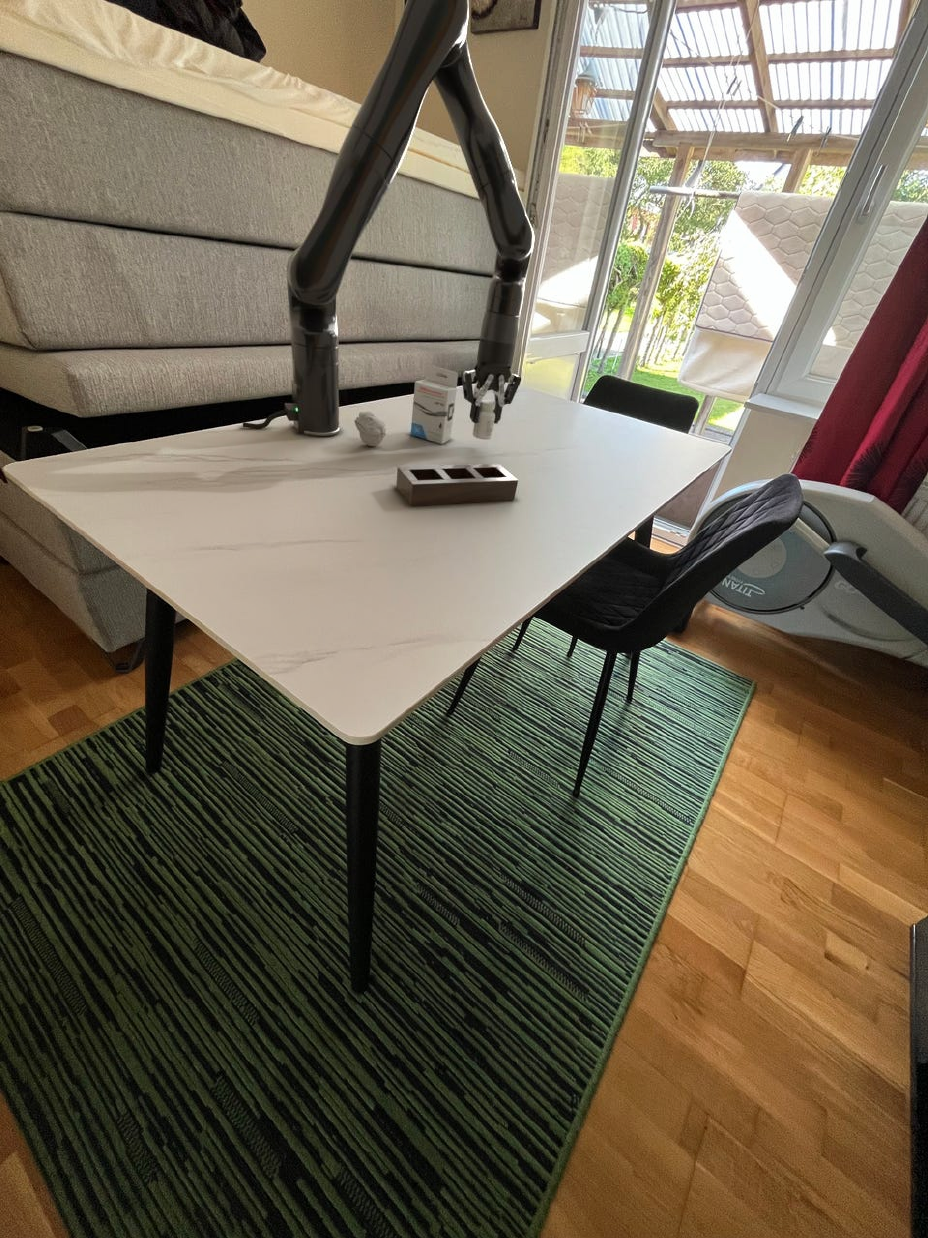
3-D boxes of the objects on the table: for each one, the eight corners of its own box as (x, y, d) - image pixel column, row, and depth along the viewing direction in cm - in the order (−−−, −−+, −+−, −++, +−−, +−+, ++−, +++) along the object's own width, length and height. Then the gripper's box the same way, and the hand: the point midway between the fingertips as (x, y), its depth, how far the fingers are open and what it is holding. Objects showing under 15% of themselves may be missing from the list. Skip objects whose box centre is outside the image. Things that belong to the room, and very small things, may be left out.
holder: (514, 500, 98) (518, 480, 95) (410, 506, 89) (412, 484, 87) (495, 483, 103) (498, 463, 101) (396, 487, 95) (397, 466, 92)
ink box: (409, 435, 120) (414, 366, 111) (419, 430, 124) (425, 363, 115) (442, 444, 118) (449, 375, 109) (451, 439, 121) (459, 372, 113)
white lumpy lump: (348, 442, 110) (348, 408, 106) (375, 439, 114) (376, 406, 110) (363, 452, 107) (364, 417, 103) (391, 448, 111) (393, 415, 107)
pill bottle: (491, 435, 120) (498, 401, 115) (490, 441, 116) (497, 405, 112) (473, 432, 120) (478, 397, 115) (471, 437, 116) (477, 401, 112)
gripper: (519, 337, 112) (504, 418, 122) (459, 330, 106) (448, 416, 116) (536, 344, 107) (519, 428, 117) (475, 338, 101) (462, 427, 111)
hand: (484, 421), depth 116 cm, fingers closed on pill bottle, 4 cm apart
